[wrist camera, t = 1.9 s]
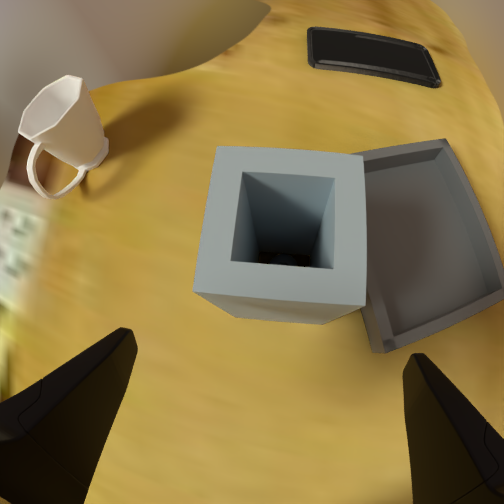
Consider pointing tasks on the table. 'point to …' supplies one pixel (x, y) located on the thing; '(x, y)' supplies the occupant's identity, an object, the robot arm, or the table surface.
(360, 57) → the phone
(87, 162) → the cup
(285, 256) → the grey metal capsule
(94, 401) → the robot arm
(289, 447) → the table surface
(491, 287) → the tray
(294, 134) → the table surface
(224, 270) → the sleeve
